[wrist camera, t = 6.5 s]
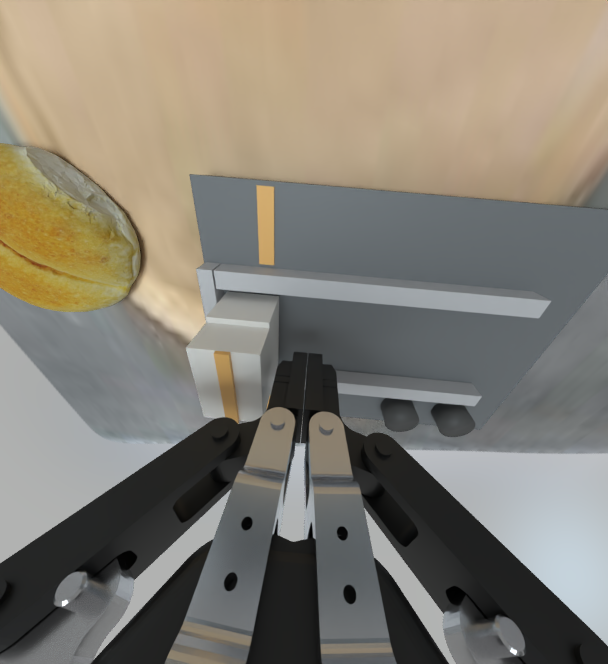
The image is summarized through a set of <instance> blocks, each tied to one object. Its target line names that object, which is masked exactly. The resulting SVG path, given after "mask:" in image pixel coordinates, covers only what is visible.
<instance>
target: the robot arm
mask: <svg viewBox="0 0 608 664" xmlns="http://www.w3.org/2000/svg"><path fill="white" fill-rule="evenodd" d="M306 366H307V373H306ZM305 379H306V384H305ZM304 392H305V397H304ZM303 405H304V411H303ZM302 416H303V424H302ZM301 425H302V437H301V443H306V447H305V449H306V450H305V459H304V485H305V520H304V540H301V541H296V542H291V541H289V540H287V539H285V538H283V537H280V530H281V524H282V517H283V510H284V504H285V498H286V492H287V487H288V481H289V476H290V470H291V464H292V459H293V457H294V451H295V442H296V443H300V435H301ZM231 488H232V489H231ZM230 489H231V492H230V495H229V498H228V501H227V503H226V507H225V509H224V512H223V514H222V517H221V520H220V523H219V526H218V529H217V531H216V534H215V537H214V539H213V540H211V541H209V542H207V543H206V544H205V545H203V546H202V547H200V548H199V549H198V550H197V551H196V552H194V553H193V554H192V555H191V556H190V557H189V558H188V559H187V560H186V561H185V562H184V563H183V564H182V565H181V567H180V568H179V569H178V570H177V571H176V572H175V573H174V574H173V575H172V577H170V578H169V580H168V581H167V582H166V583H165V584H164V585H163V586H162V587H161V588H160V589H159V590H158V591H157V592H156V594H155V595H154V596H153V597H152V598H151V599H150V600H149V601H148V602H147V603H146V604H145V605H144V607H143V608H142V609H141V610H140V611H139V612H138V613H137V614H136V615H135V616H134V617H133V618H132V620H131V621H130V622H129V623H128V624H127V625H126V626H125V627H124V628H123V629H122V630H121V631H120V633H118V635H117V636H116V637H115V638H114V639H113V640H112V641H111V642H110V643H109V644H108V645H107V646H106V647H105V648H104V650H103V651H102V652H101V653H100V654H99V655H98V656H97V657H96V658H95V659H94V657H95V655H96V653H97V651H98V649H99V647H100V646H101V644H102V642H103V641H104V639H105V638H106V636H107V635H108V634H109V632H110V631H111V630H112V629H113V628H114V627H115V625H116V624H117V623H118V622H119V620H120V619H121V617H122V616H123V614H124V613H125V611H126V609H127V607H128V605H129V603H130V600H131V597H132V594H133V589H134V580H135V579H136V578H137V577H138V576H139V575H140V574H141V573H142V572H143V571H144V570H145V569H146V568H148V566H149V565H151V564H152V563H153V562H154V561H155V560H156V559H157V558H158V557H159V556H160V555H161V554H162V553H163V552H165V551H166V550H167V549H168V548H169V547H170V546H171V545H172V544H173V543H174V542H175V541H176V540H177V539H178V538H179V537H180V536H181V535H183V534H184V532H186V531H187V530H188V529H189V528H190V527H191V526H192V525H193V524H194V523H195V522H196V521H197V520H199V518H200V517H202V516H203V515H204V514H205V513H206V512H207V511H208V510H209V509H210V508H211V507H212V506H213V505H214V504H215V503H217V502H218V501H219V500H220V499H221V498H222V497H223V496H224V495H225V494H226V493H227V492H228V491H229V490H230ZM364 508H365V509H366V510H367V512H368V513H369V514H370V516H371V517H372V518H373V520H374V521H375V522H376V524H377V525H378V526H379V528H380V529H381V530H382V532H383V533H384V534H385V536H386V537H387V538H388V540H389V541H390V542H391V544H392V545H393V547H394V548H395V549H396V551H397V552H398V553H399V554H400V556H401V557H402V558H403V560H404V561H405V563H406V564H407V565H408V567H409V568H410V569H411V571H412V572H413V573H414V575H415V576H416V577H417V579H418V580H419V581H420V583H421V584H422V585H423V587H424V588H425V589H426V591H427V592H428V593H429V595H430V596H431V597H432V599H433V600H434V602H435V603H436V604H437V606H438V607H439V608H440V609H441V611H442V612H443V614H444V617H443V630H444V635H445V639H446V643H447V645H448V648H449V651H450V653H451V655H452V657H453V659H454V660H455V662H456V664H608V646H607V645H606V644H605V643H604V642H603V641H602V640H601V639H600V638H599V637H598V636H597V635H596V634H595V633H594V632H593V631H592V630H591V629H590V628H589V627H588V626H587V625H586V624H585V623H584V622H583V621H582V620H581V619H580V618H579V617H578V616H577V615H575V614H574V613H573V612H572V611H571V610H570V609H569V608H568V607H567V606H566V605H565V604H564V603H563V602H562V601H561V600H560V599H559V598H558V597H557V596H556V595H555V594H554V593H553V592H552V591H551V590H549V589H548V588H547V587H546V586H545V585H544V584H543V583H542V582H541V581H540V580H539V579H538V578H537V577H536V576H535V575H534V574H533V573H532V572H531V571H530V570H529V569H528V568H527V567H526V566H525V565H523V563H521V562H520V561H519V560H518V559H517V558H516V557H515V556H514V555H513V554H512V553H511V552H510V551H509V550H508V549H507V548H506V547H505V546H504V545H503V544H502V543H501V542H500V541H499V540H498V539H497V538H496V537H494V536H493V535H492V534H491V533H490V532H489V531H488V530H487V529H486V528H485V527H484V526H483V525H482V524H481V523H480V522H479V521H478V520H477V519H475V517H474V516H472V514H471V513H469V511H467V510H466V509H465V508H464V507H463V506H462V505H461V504H460V503H459V502H458V501H457V500H456V499H455V498H454V497H453V496H452V495H451V494H450V493H449V492H448V491H447V490H446V489H445V488H444V487H443V486H442V485H441V484H439V483H438V482H437V481H436V480H435V479H434V478H433V477H432V476H431V475H430V474H429V473H428V472H427V471H426V470H425V469H424V468H423V467H422V466H421V465H420V464H419V463H418V462H417V461H416V460H415V459H414V458H413V457H411V456H410V455H409V454H408V453H407V452H406V451H405V450H404V449H403V448H402V447H401V446H400V445H399V444H398V443H397V442H396V441H395V440H394V439H393V438H391V437H390V436H388V435H386V434H383V433H372V434H370V435H368V436H367V437H366V436H364V435H362V434H359V433H357V432H354V431H352V430H351V429H349V428H348V427H347V426H346V425H345V424H344V423H343V421H342V419H341V417H340V411H339V399H338V389H337V375H336V371H335V369H334V368H333V366H332V365H328V364H323V358H322V354H316V353H309V354H308V364H307V353H304V352H294V353H293V360H292V361H285V360H283V361H282V362H281V363H280V364H279V365H278V366H277V370H276V374H275V378H274V383H273V387H272V391H271V395H270V399H269V404H268V407H267V410H266V412H265V413H264V414H263V415H262V416H261V417H260V418H258V419H256V420H254V421H251V422H247V423H242V424H238V423H237V422H236V421H235V420H233V419H232V418H228V417H221V418H217V419H214V420H212V421H211V422H209V423H208V424H206V425H205V426H203V427H202V428H200V429H199V430H197V431H196V432H194V433H193V434H191V435H190V436H188V437H187V438H185V439H184V440H182V441H181V442H179V443H178V444H176V445H175V446H174V447H172V448H171V449H169V450H168V451H166V452H165V453H163V454H162V455H161V456H159V457H157V458H156V459H154V460H153V461H151V462H150V463H148V464H147V465H145V466H144V467H142V468H141V469H139V470H138V471H137V472H135V473H134V474H132V475H131V476H129V477H128V478H126V479H125V480H123V481H122V482H120V483H119V484H117V485H116V486H115V487H113V488H111V489H110V490H108V491H107V492H105V493H104V494H103V495H101V496H99V497H98V498H96V499H95V500H94V501H92V502H91V503H89V504H88V505H86V506H85V507H83V508H82V509H80V510H79V511H77V512H76V513H74V514H73V515H71V516H70V517H69V518H67V519H65V520H64V521H62V522H61V523H59V524H58V525H57V526H55V527H54V528H52V529H51V530H49V531H48V532H46V533H45V534H43V535H42V536H40V537H39V538H37V539H36V540H34V541H33V542H31V543H30V544H28V545H27V546H25V547H24V548H23V549H21V550H19V551H18V552H17V553H15V554H14V555H12V556H11V557H9V558H8V559H6V560H5V561H3V562H2V563H0V664H449V663H448V662H447V660H446V658H445V657H444V655H443V654H442V652H441V651H440V649H439V648H438V646H437V645H436V643H435V642H434V640H433V639H432V637H431V636H430V634H429V632H428V631H427V629H426V628H425V626H424V625H423V623H422V622H421V620H420V619H419V617H418V616H417V614H416V613H415V611H414V610H413V608H412V606H411V605H410V603H409V602H408V600H407V599H406V597H405V596H404V594H403V593H402V591H401V590H400V588H399V586H398V585H397V583H396V582H395V581H394V579H393V578H392V576H391V575H390V574H389V572H388V571H387V570H386V569H385V568H384V567H383V566H382V565H381V563H380V562H379V561H378V560H376V559H375V558H374V556H373V552H372V546H371V542H370V536H369V532H368V526H367V521H366V516H365V510H364ZM93 659H94V660H93Z"/></svg>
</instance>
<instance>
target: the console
mask: <svg viewBox="0 0 608 664" xmlns="http://www.w3.org/2000/svg"><path fill="white" fill-rule="evenodd" d="M190 180H191V186H192V192H193V198H194V204H195V210H196V216H197V222H198V228H199V234H200V240H201V246H202V252H203V258H204V264H203V265H201V266H200V267H198V268H197V269H196V271H197V276H198V282H199V287H200V292H201V298H202V303H203V308H204V313H205V319H206V316H207V315H208V313H209V312H210V311H211V310H212V309H213V308H214V306H215V305H216V304H217V303H218V302H219V301H220V299H221V298H222V297H223V296H224V295H225V294H226V292H227V291H228V292H239V293H250V294H261V295H272V296H279V350H278V365H279V364H280V363H281V362H282V361H283V360H285V361H292V360H293V353H294V352H304V353H307V364H308V354H309V353H316V354H322V358H323V364H328V365H332V366H333V368H334V369H335V371H336V375H337V389H338V399H339V411H340V416H343V417H354V418H364V419H374V420H384V422H385V426H386V427H387V428H388V429H390V430H392V431H396V432H403V431H408V430H411V429H413V428H414V427H416V426H417V425H418V424H425V425H436V426H437V427H438V429H439V431H440V433H441V434H443V435H444V436H448V437H458V436H462V435H465V434H468V433H469V432H471V431H472V430H473V429H477V430H480V429H481V428H482V427H483V426H484V424H485V423H486V422H487V421H488V419H489V418H490V417H491V416H492V415H493V413H494V412H495V411H496V410H497V408H498V407H499V406H500V405H501V404H502V402H503V401H504V400H505V399H506V397H507V396H508V395H509V394H510V393H511V391H512V390H513V389H514V388H515V386H516V385H517V384H518V383H519V381H520V380H521V379H522V378H523V377H524V375H525V374H526V373H527V372H528V370H529V369H530V368H531V367H532V366H533V364H534V363H535V362H536V361H537V359H538V358H539V357H540V356H541V355H542V353H543V352H544V351H545V350H546V348H547V347H548V346H549V345H550V344H551V342H552V341H553V340H554V339H555V337H556V336H557V335H558V334H559V333H560V331H561V330H562V329H563V328H564V326H565V325H566V324H567V323H568V321H569V320H570V319H571V318H572V317H573V315H574V314H575V313H576V312H577V310H578V309H579V308H580V307H581V306H582V304H583V303H584V302H585V301H586V299H587V298H588V297H589V296H590V295H591V293H592V292H593V291H594V290H595V288H596V287H597V286H598V285H599V284H600V282H601V281H602V280H603V279H604V277H605V276H606V275H607V274H608V209H597V208H585V207H573V206H561V205H550V204H538V203H526V202H514V201H502V200H491V199H479V198H467V197H455V196H444V195H432V194H420V193H408V192H396V191H385V190H373V189H361V188H349V187H338V186H326V185H314V184H302V183H290V182H279V181H267V180H255V179H243V178H231V177H220V176H208V175H192V174H190ZM206 323H207V322H206ZM306 373H307V366H306ZM305 384H306V379H305ZM304 397H305V392H304ZM269 399H270V396H269ZM268 404H269V400H268ZM268 404H267V407H268ZM266 409H267V408H266ZM303 411H304V405H303Z"/></svg>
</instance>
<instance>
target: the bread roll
mask: <svg viewBox="0 0 608 664" xmlns="http://www.w3.org/2000/svg"><path fill="white" fill-rule="evenodd" d="M140 258H141V254H140V247H139V242H138V239H137V236H136V233H135V231H134V229H133V227H132V225H131V223H130V221H129V220H128V218H127V216H126V214H125V213H124V212H123V211H122V210H121V209H120V208H119V207H118V206H117V205H116V204H115V203H114V202H113V201H112V200H111V199H110V198H109V197H108V196H107V195H106V194H105V192H104V191H103V190H102V189H101V188H100V187H99V186H98V185H96V184H95V183H94V182H92V181H91V180H90V179H89V178H88V177H86V176H85V175H84V174H82V173H81V172H80V171H78V170H77V169H76V168H75V167H73V166H72V165H70V164H69V163H67V162H66V161H64V160H63V159H61V158H60V157H58V156H56V155H54V154H52V153H50V152H48V151H45V150H43V149H41V148H37V147H32V146H29V147H20V146H15V145H11V144H4V143H0V288H2V289H3V290H5V291H6V292H8V293H10V294H11V295H13V296H15V297H17V298H19V299H21V300H23V301H25V302H28V303H30V304H32V305H35V306H38V307H41V308H45V309H50V310H55V311H63V312H86V311H92V310H97V309H101V308H106V307H109V306H112V305H114V304H116V303H118V302H119V301H121V300H122V299H123V298H125V297H126V296H127V295H128V294H129V291H130V288H131V285H132V284H133V283H134V281H135V280H136V278H137V276H138V273H139V269H140Z"/></svg>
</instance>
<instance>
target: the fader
mask: <svg viewBox="0 0 608 664" xmlns="http://www.w3.org/2000/svg"><path fill="white" fill-rule="evenodd" d="M206 322H207V323H206V324H205V325H204V326H203V327H202V329H201V330H200V331H199V332H198V334H197V335H196V336H195V337H194V338H193V340H192V341H191V342H190V343H189V345H188V346H187V347H186V350H187V354H188V358H189V362H190V365H191V369H192V373H193V377H194V381H195V384H196V388H197V392H198V396H199V399H200V403H201V407H202V411H203V414H204V417H209V418H221V417H228V418H232V419H233V420H235V421H236V422H237V423H239V420H240V421H250V422H251V421H254V420H256V419H258V418H260V417H261V416H262V415H263V414H264V413H265V412H266V408H267V404H268V400H269V396H270V395H271V391H272V387H273V383H274V378H275V374H276V370H277V366H278V350H279V296H272V295H261V294H250V293H239V292H228V291H227V292H226V294H225V295H224V296H223V297H222V298H221V299H220V301H219V302H218V303H217V304H216V305H215V306H214V308H213V309H212V310H211V311H210V312H209V313H208V315H207V316H206Z"/></svg>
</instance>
